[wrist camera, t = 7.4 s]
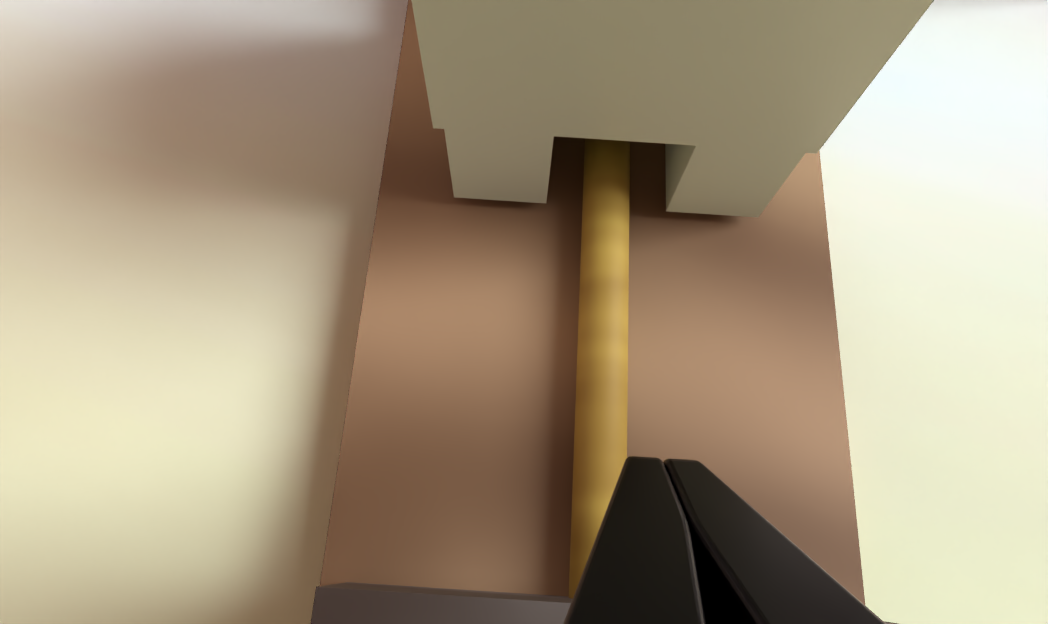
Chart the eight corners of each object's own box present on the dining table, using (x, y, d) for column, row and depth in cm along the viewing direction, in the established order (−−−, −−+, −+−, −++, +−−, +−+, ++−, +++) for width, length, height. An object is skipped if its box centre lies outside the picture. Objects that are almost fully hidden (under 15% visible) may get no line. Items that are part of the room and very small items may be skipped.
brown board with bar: (856, 833, 12) (1115, 1037, 7) (304, 797, 12) (153, 976, 7) (775, -84, 20) (871, -313, 15) (434, -107, 20) (409, -344, 15)
